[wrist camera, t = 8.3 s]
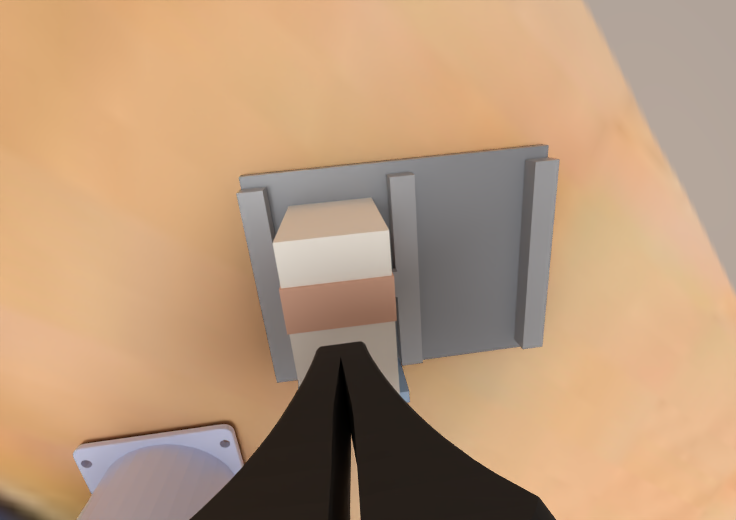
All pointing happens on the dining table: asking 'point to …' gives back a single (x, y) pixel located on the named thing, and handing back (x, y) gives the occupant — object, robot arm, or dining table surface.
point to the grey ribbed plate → (429, 246)
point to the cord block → (337, 281)
